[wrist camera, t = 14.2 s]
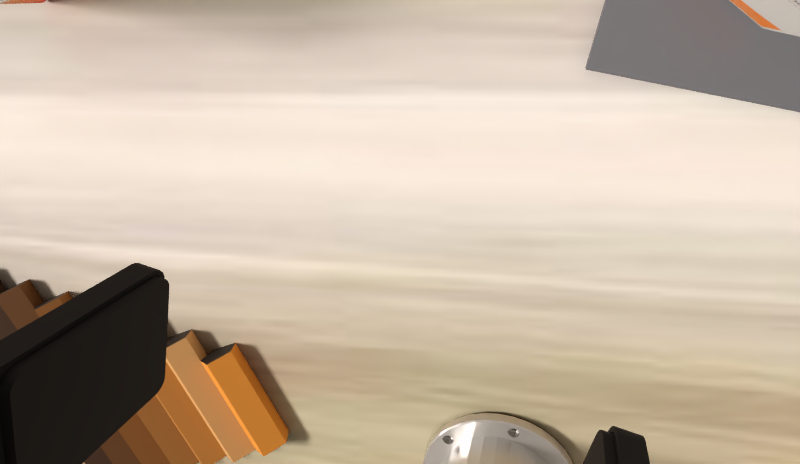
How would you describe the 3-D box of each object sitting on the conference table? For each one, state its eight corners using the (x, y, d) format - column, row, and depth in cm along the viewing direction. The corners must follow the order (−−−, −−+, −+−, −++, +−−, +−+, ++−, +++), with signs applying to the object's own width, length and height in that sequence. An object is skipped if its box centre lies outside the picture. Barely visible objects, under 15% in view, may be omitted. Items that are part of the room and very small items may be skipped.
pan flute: (-22, 274, 56) (115, 467, 62) (-56, 290, 53) (93, 491, 59) (153, 187, 47) (295, 426, 53) (124, 201, 44) (279, 453, 50)
